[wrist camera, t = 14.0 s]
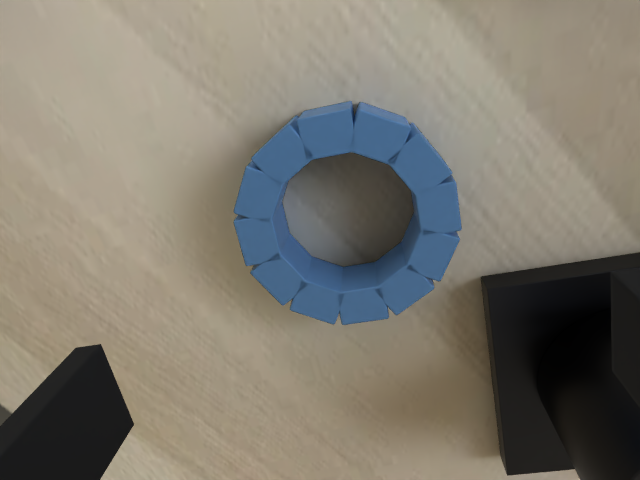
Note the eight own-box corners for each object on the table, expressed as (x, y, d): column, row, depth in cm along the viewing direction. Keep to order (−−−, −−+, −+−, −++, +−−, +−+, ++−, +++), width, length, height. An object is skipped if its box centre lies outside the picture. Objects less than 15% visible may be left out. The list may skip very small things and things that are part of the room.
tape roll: (435, 83, 23) (445, 88, 20) (460, 279, 26) (471, 307, 24) (226, 126, 25) (209, 137, 22) (275, 307, 28) (265, 337, 25)
